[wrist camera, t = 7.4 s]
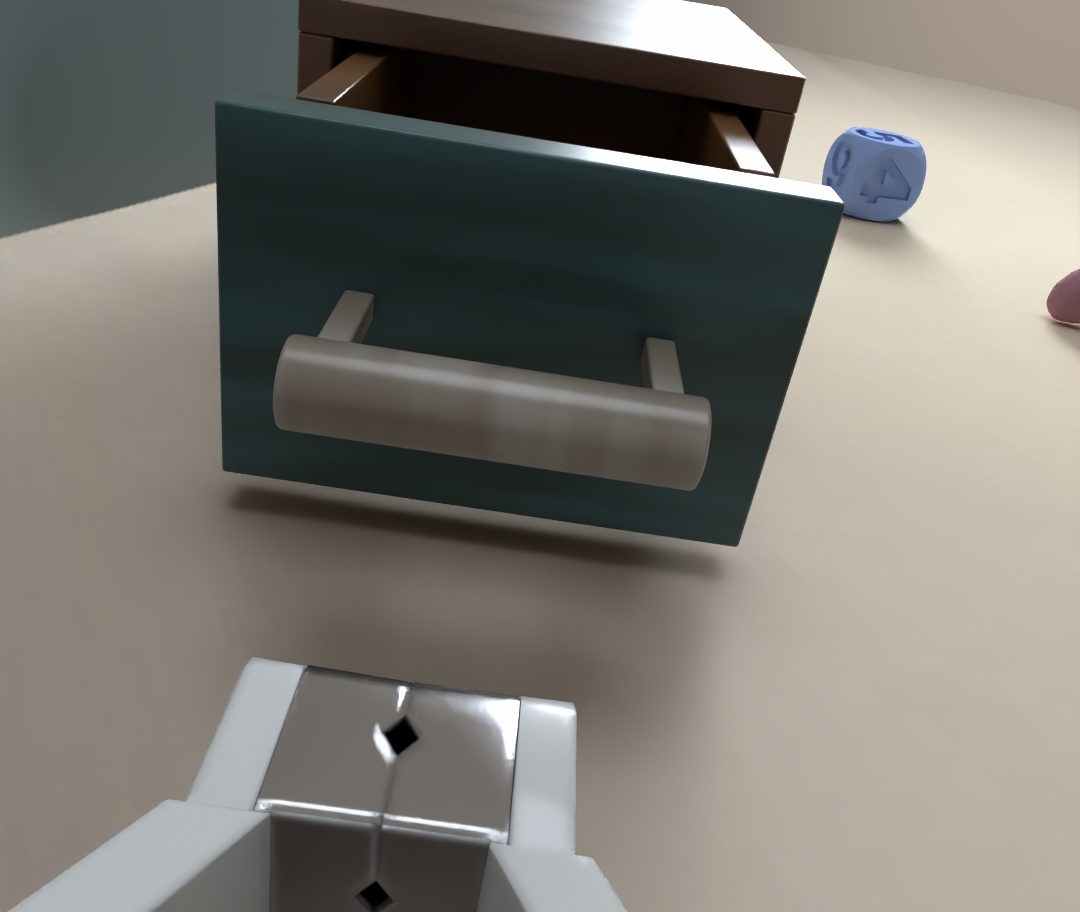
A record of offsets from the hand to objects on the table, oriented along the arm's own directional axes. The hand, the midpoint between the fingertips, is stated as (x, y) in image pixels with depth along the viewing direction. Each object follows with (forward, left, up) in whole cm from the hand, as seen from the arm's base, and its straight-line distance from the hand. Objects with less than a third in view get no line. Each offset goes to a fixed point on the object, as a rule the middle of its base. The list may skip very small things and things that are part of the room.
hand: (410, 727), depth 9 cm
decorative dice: (+18, +48, -6) cm, 51 cm away
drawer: (0, +16, -5) cm, 17 cm away
